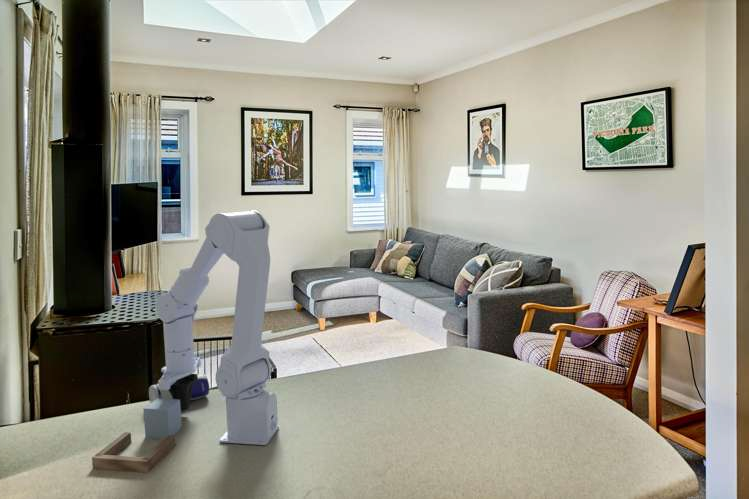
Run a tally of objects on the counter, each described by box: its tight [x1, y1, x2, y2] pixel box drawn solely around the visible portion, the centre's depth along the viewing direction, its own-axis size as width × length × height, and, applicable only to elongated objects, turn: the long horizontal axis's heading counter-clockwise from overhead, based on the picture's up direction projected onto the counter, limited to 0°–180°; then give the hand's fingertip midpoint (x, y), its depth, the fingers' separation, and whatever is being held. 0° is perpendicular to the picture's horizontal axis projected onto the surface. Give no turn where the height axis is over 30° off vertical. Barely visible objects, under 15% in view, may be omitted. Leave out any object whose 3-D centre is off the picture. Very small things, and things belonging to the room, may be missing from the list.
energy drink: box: [148, 373, 210, 404], centre depth 126 cm, size 5×5×12 cm
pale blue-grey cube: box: [143, 398, 183, 440], centre depth 111 cm, size 5×6×6 cm
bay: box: [91, 431, 177, 473], centre depth 102 cm, size 10×10×2 cm
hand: (182, 409), depth 119 cm, fingers closed
